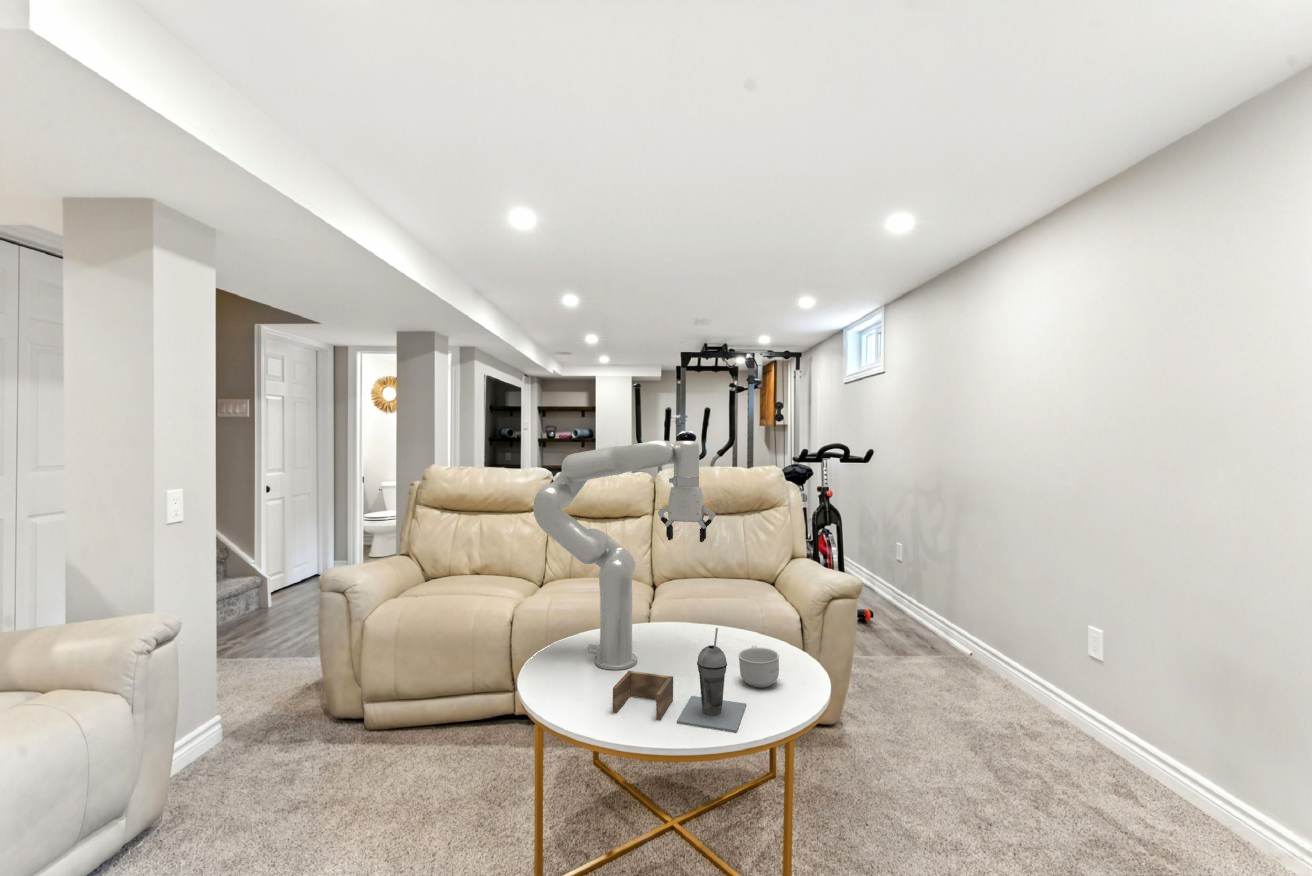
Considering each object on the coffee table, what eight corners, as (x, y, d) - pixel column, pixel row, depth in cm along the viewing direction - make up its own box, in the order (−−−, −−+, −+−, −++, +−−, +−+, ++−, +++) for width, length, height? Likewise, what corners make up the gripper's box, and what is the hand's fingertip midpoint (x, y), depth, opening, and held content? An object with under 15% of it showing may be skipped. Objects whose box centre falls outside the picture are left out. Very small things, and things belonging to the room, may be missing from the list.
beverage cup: (694, 705, 140) (694, 623, 140) (723, 703, 140) (724, 622, 141) (699, 719, 133) (699, 633, 133) (730, 718, 133) (730, 632, 133)
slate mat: (676, 723, 132) (676, 720, 132) (691, 697, 145) (691, 695, 145) (736, 732, 128) (736, 730, 128) (746, 705, 141) (746, 703, 141)
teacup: (779, 693, 148) (779, 662, 148) (737, 689, 150) (737, 659, 150) (778, 672, 162) (778, 644, 162) (740, 669, 164) (740, 641, 164)
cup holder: (612, 712, 137) (612, 687, 137) (628, 693, 147) (628, 670, 147) (660, 720, 133) (660, 694, 133) (673, 700, 143) (673, 676, 144)
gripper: (654, 482, 167) (654, 541, 167) (712, 484, 162) (712, 544, 161) (662, 481, 174) (661, 537, 174) (717, 482, 169) (717, 540, 169)
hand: (686, 540), depth 168 cm, fingers open, 9 cm apart
